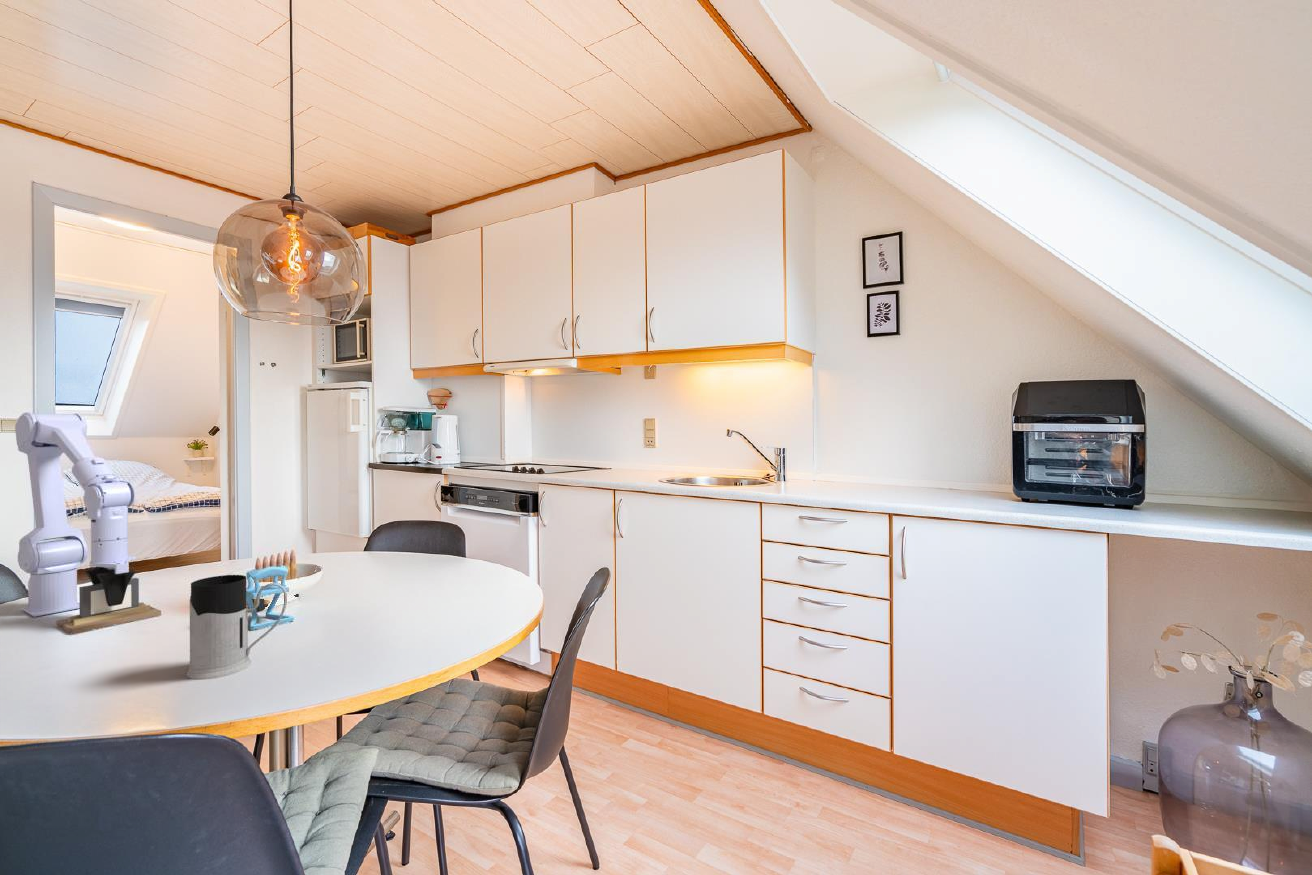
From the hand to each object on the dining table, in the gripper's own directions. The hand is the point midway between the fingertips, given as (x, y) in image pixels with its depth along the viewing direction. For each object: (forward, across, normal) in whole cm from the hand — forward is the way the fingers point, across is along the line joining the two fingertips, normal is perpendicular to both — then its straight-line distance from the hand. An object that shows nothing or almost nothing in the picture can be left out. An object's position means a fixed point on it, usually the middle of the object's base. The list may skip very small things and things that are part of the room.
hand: (110, 602), depth 122 cm
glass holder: (+4, -50, -3) cm, 50 cm away
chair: (+4, -29, -17) cm, 34 cm away
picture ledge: (+4, 0, 0) cm, 4 cm away
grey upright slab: (+3, 0, 0) cm, 3 cm away
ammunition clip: (+4, -18, -24) cm, 30 cm away
